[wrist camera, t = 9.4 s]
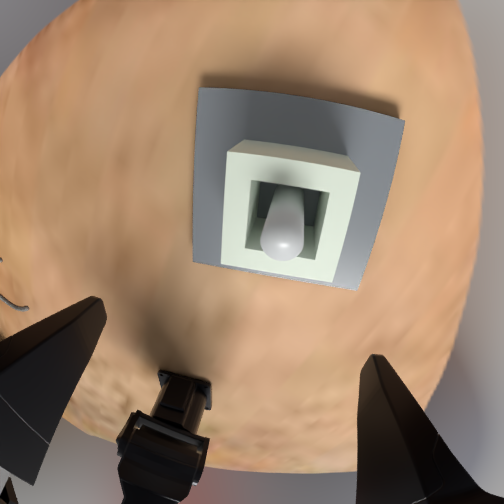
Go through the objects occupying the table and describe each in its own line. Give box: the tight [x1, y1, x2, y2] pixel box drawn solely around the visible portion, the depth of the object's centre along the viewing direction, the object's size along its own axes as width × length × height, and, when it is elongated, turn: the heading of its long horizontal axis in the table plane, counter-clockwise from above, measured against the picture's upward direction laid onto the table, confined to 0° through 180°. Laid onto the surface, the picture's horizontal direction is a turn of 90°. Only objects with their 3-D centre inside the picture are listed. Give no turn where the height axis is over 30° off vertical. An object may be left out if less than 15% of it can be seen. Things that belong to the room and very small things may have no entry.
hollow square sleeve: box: [221, 139, 361, 283], centre depth 15 cm, size 6×6×4 cm
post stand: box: [193, 87, 405, 290], centre depth 15 cm, size 12×12×7 cm
